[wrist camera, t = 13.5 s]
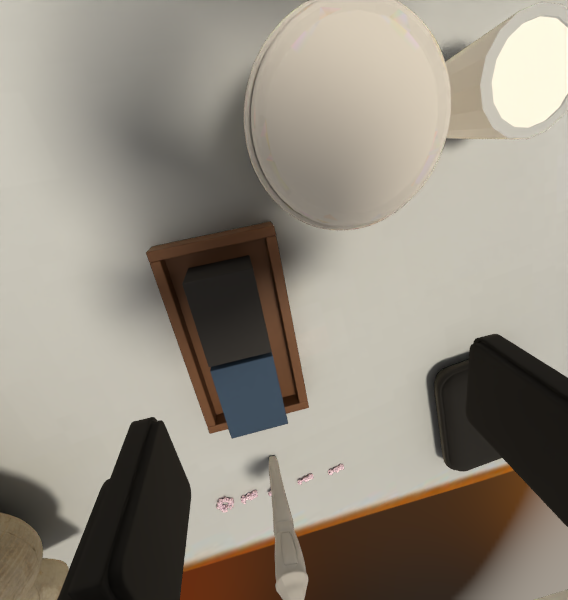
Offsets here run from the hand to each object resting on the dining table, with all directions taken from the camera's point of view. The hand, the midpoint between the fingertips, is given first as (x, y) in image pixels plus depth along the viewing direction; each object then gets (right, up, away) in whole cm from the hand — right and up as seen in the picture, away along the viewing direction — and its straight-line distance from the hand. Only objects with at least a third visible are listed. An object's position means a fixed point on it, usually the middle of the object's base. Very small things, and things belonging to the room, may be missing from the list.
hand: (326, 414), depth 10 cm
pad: (-6, +3, +18) cm, 19 cm away
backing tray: (-5, +1, +20) cm, 21 cm away
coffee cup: (0, +15, +15) cm, 22 cm away
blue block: (-5, -3, +21) cm, 22 cm away
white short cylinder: (+12, +19, +16) cm, 28 cm away
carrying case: (+21, -8, +28) cm, 36 cm away
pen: (-3, -14, +26) cm, 30 cm away
